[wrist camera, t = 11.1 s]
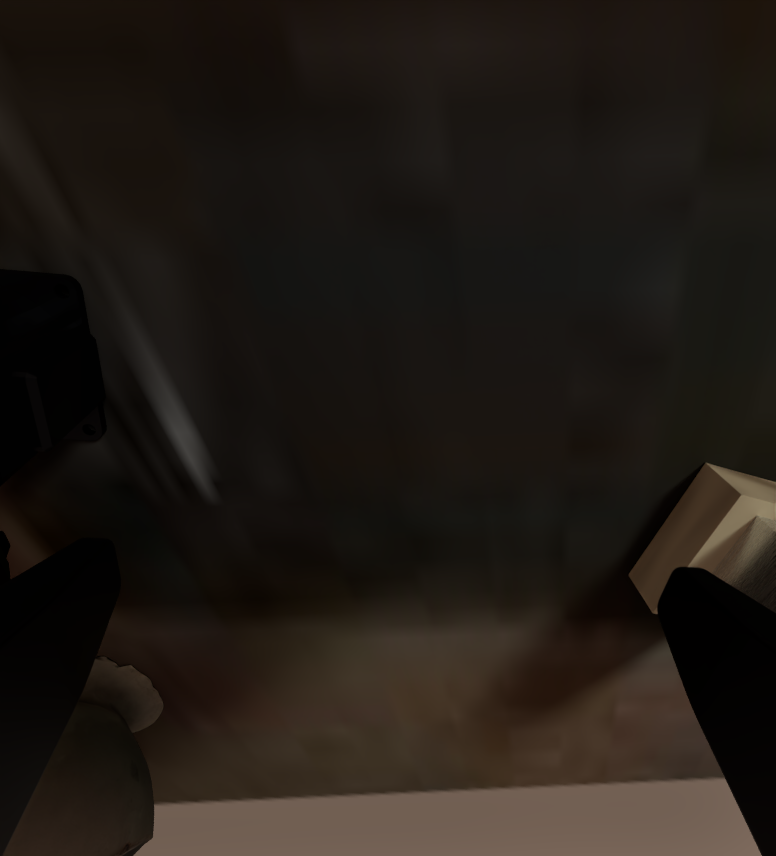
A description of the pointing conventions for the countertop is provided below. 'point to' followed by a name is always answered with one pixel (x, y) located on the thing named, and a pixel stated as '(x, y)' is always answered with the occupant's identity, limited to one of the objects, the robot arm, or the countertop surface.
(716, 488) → the stand
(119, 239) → the countertop surface
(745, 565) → the housing
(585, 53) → the countertop surface
